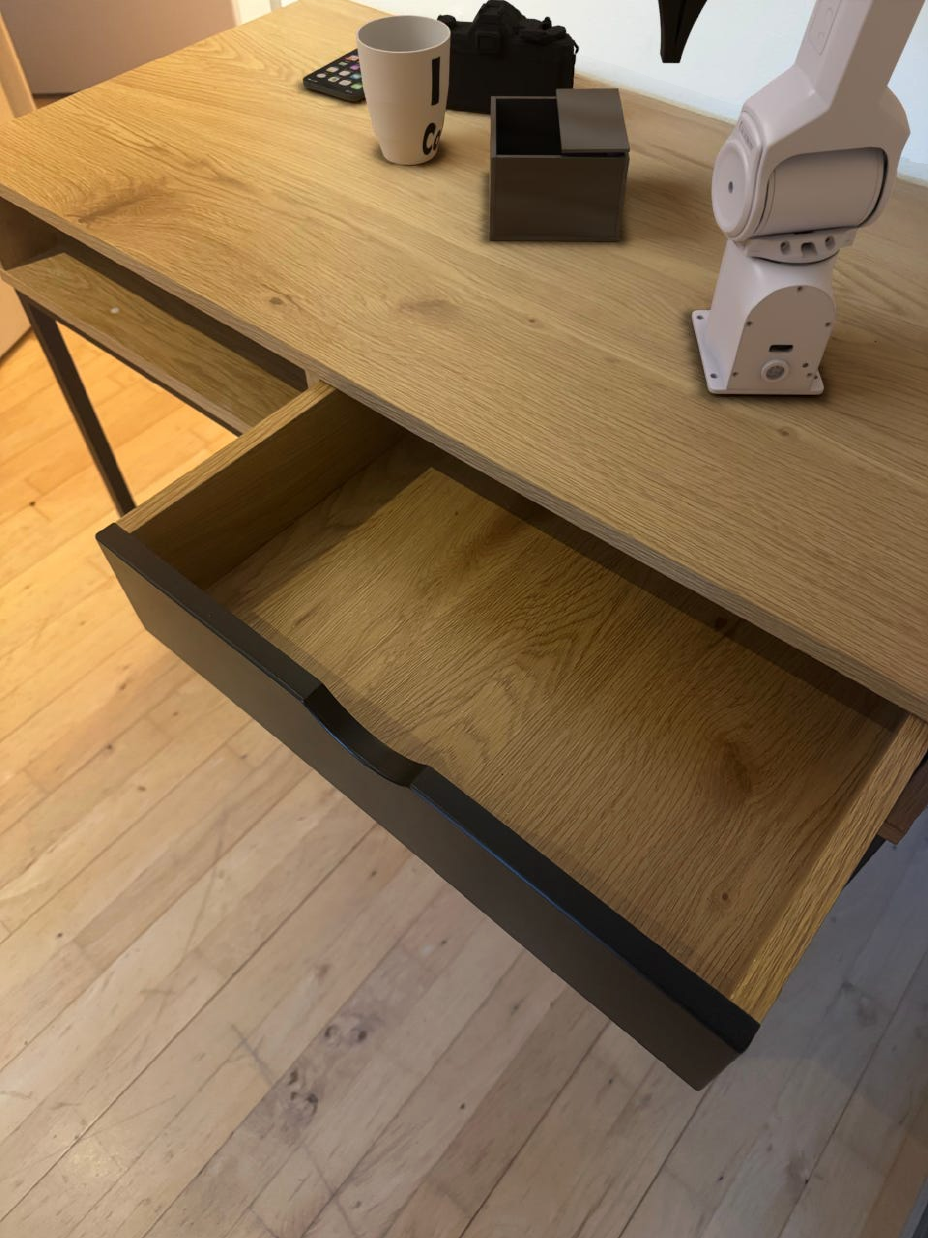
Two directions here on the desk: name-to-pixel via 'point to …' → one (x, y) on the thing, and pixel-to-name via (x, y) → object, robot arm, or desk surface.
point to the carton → (549, 178)
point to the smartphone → (339, 78)
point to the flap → (591, 121)
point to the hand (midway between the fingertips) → (669, 58)
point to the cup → (405, 83)
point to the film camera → (506, 57)
